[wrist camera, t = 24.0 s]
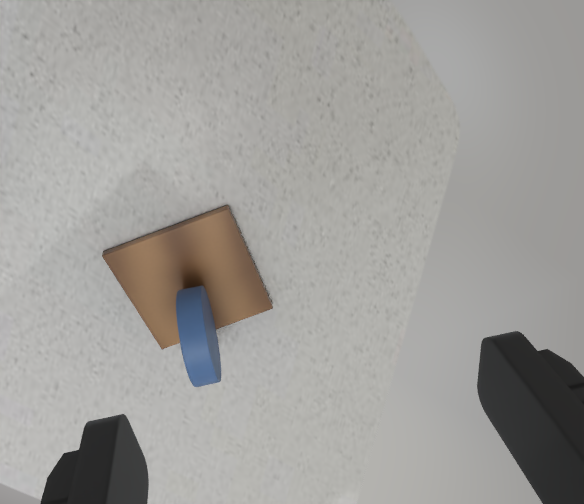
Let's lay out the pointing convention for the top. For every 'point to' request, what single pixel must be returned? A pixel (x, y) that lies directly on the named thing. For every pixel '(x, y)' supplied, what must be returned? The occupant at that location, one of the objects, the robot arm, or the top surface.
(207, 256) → the plate
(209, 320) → the disc
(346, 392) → the top surface
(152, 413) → the top surface
